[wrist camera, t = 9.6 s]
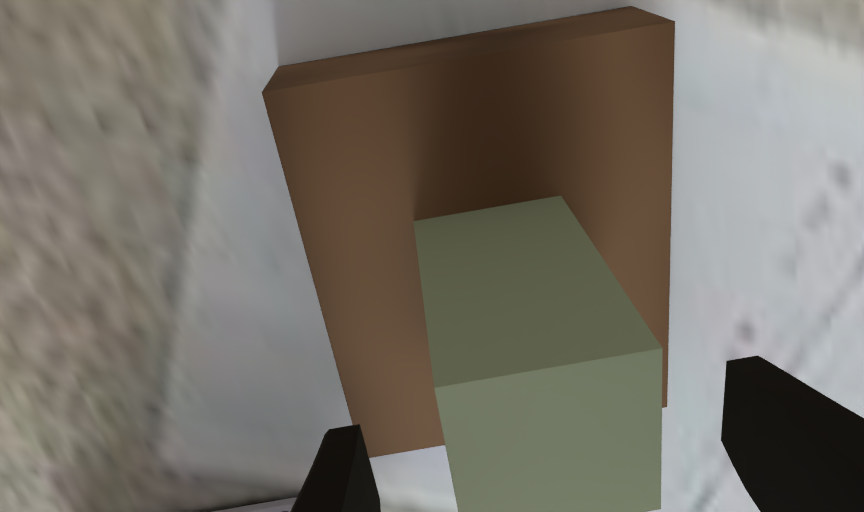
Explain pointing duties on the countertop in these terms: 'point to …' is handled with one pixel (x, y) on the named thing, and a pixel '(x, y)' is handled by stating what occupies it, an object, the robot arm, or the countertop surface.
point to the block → (538, 364)
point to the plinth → (470, 179)
